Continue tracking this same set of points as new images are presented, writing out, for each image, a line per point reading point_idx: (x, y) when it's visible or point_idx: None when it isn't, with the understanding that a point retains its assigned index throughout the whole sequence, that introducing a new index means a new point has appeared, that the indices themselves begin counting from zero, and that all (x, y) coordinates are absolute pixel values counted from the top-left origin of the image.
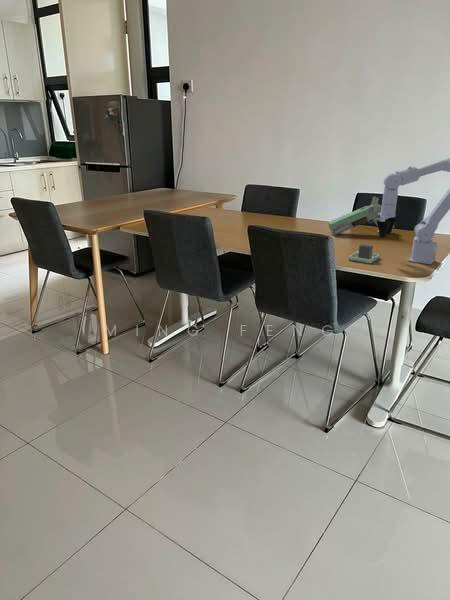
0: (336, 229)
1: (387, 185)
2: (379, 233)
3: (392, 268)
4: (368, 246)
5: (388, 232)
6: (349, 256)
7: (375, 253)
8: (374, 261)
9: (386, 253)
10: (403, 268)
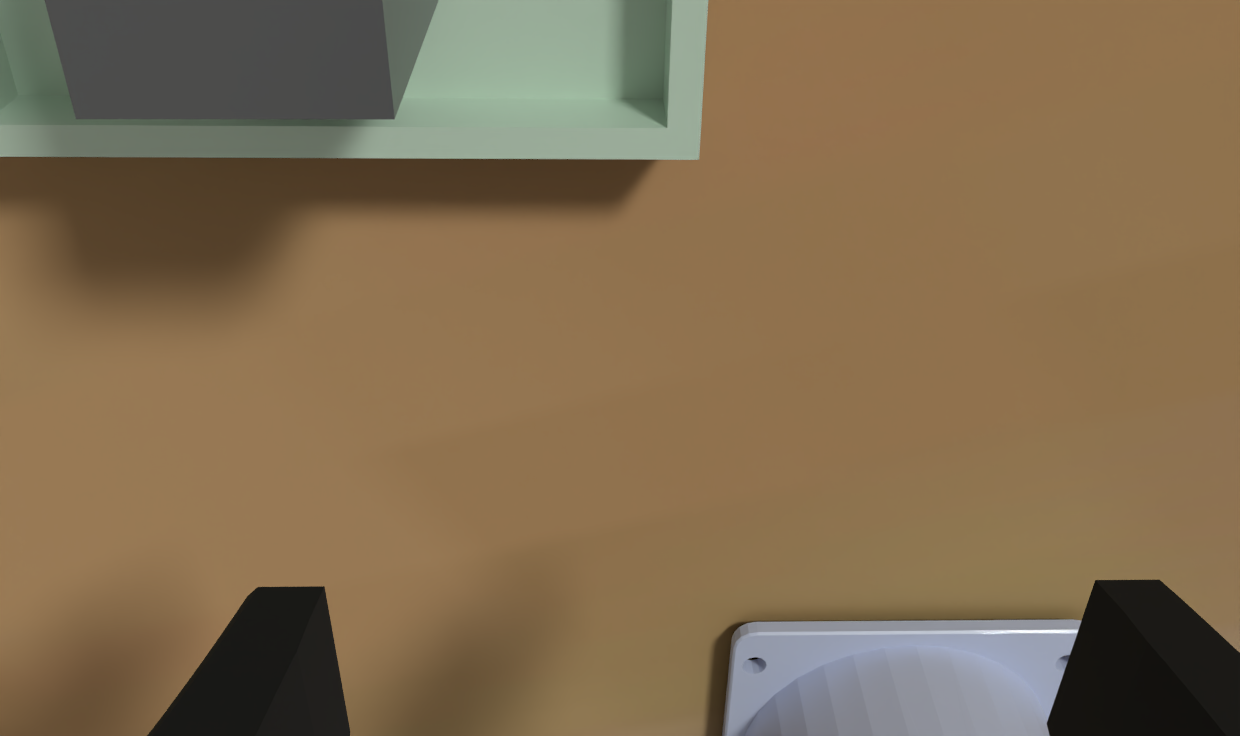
0: None
1: None
2: (174, 711)
3: (84, 537)
4: (140, 12)
5: (1085, 733)
6: None
7: (691, 34)
8: None
9: (1231, 131)
10: None
